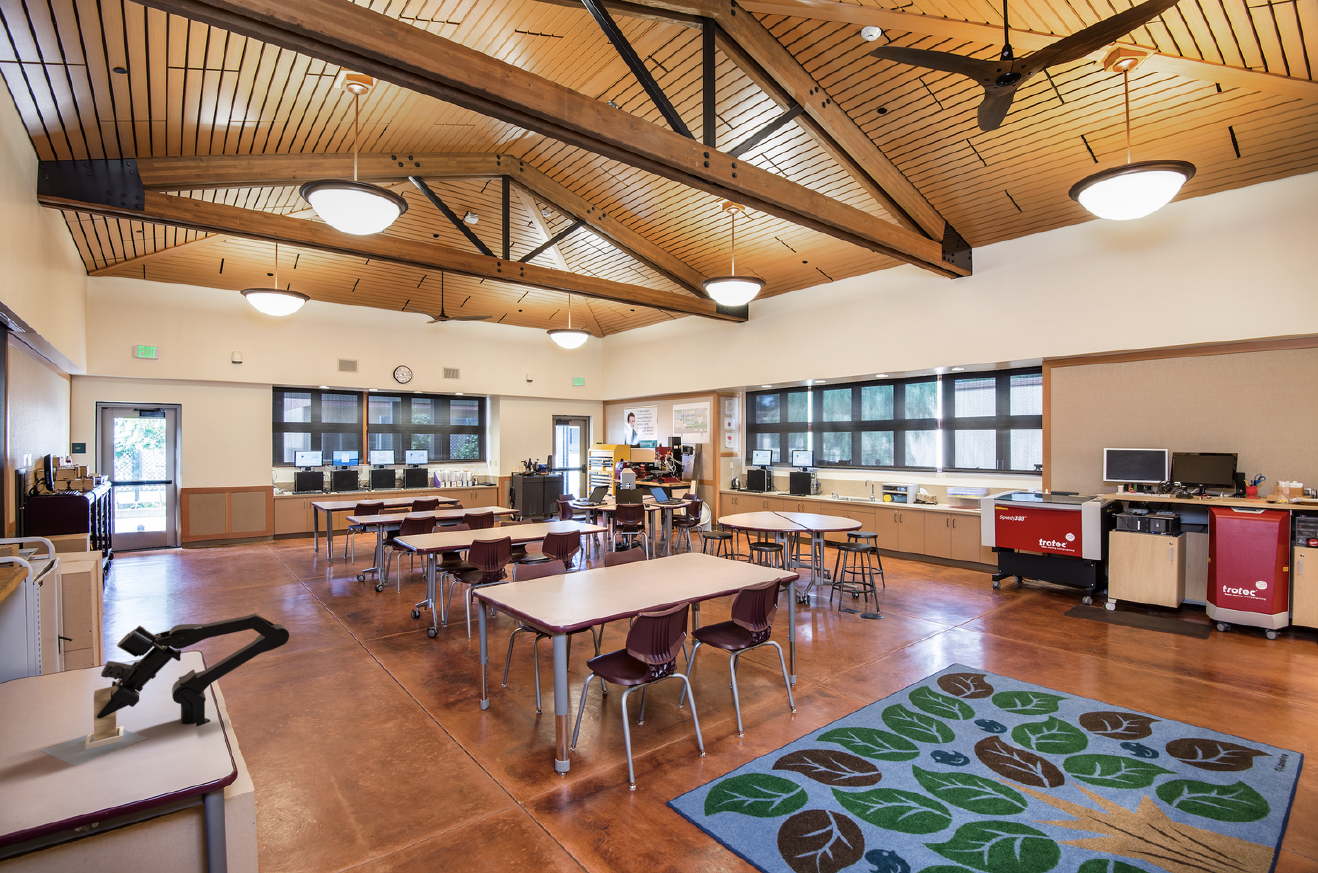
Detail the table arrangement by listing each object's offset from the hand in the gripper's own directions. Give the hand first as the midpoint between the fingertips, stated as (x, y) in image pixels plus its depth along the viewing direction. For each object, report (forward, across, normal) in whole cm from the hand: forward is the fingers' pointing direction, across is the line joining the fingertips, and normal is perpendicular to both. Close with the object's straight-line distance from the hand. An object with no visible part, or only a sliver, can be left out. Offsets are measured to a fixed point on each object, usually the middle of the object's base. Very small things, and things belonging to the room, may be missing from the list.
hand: (98, 715), depth 170 cm
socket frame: (+4, 0, +6) cm, 8 cm away
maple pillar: (+4, 0, +6) cm, 7 cm away
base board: (+7, +1, +6) cm, 9 cm away
